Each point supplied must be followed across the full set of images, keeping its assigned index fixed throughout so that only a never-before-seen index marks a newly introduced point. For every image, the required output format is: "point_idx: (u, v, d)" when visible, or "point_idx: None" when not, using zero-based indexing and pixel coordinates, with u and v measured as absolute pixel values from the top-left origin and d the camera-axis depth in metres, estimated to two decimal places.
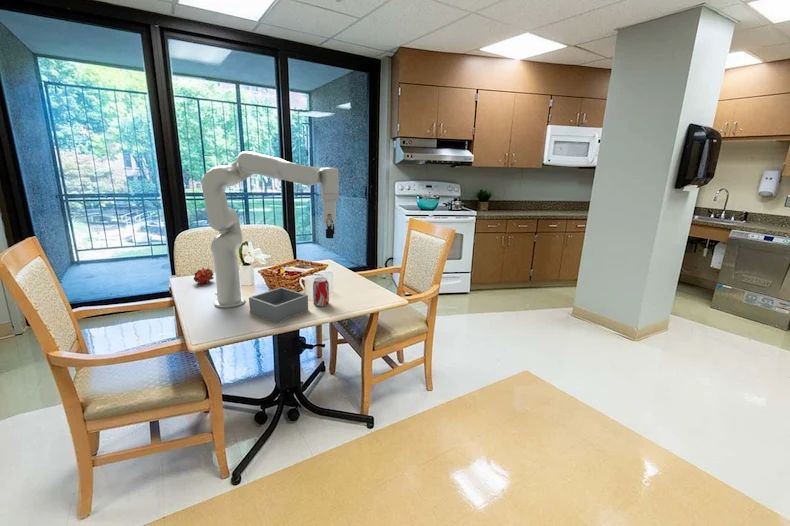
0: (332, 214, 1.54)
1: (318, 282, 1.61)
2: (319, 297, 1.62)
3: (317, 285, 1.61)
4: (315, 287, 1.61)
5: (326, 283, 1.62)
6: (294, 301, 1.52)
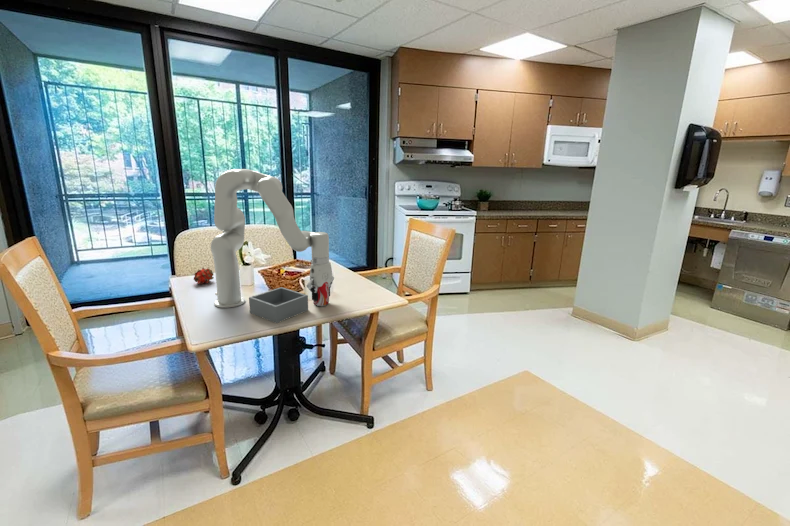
0: None
1: None
2: (319, 297, 1.62)
3: None
4: None
5: (326, 283, 1.62)
6: (294, 301, 1.52)
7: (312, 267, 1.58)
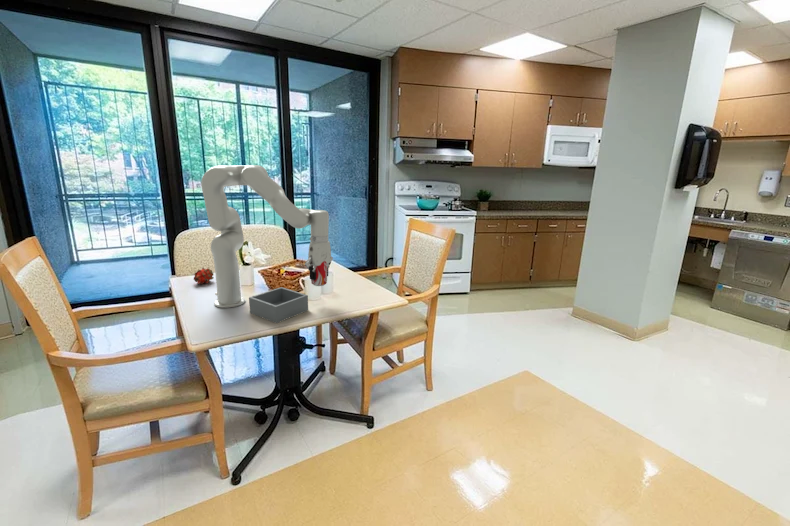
0: None
1: None
2: (317, 276, 1.59)
3: None
4: None
5: (325, 262, 1.60)
6: (294, 301, 1.52)
7: (311, 245, 1.56)
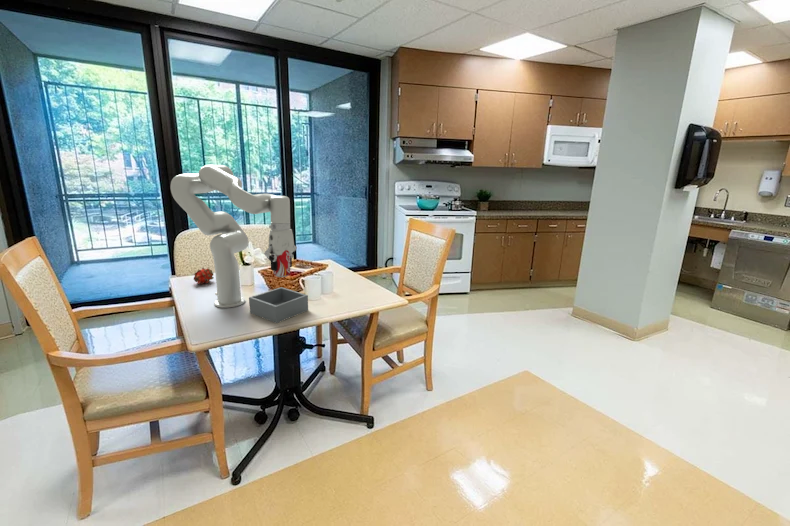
0: None
1: None
2: (279, 267, 1.49)
3: None
4: None
5: (287, 252, 1.50)
6: (294, 301, 1.52)
7: (271, 233, 1.46)
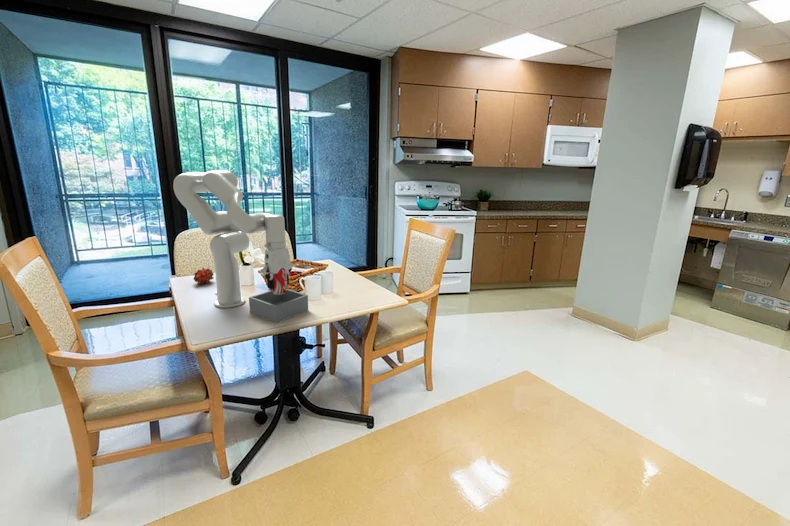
0: None
1: None
2: (275, 285, 1.50)
3: None
4: None
5: (283, 270, 1.50)
6: (294, 301, 1.52)
7: (266, 252, 1.46)
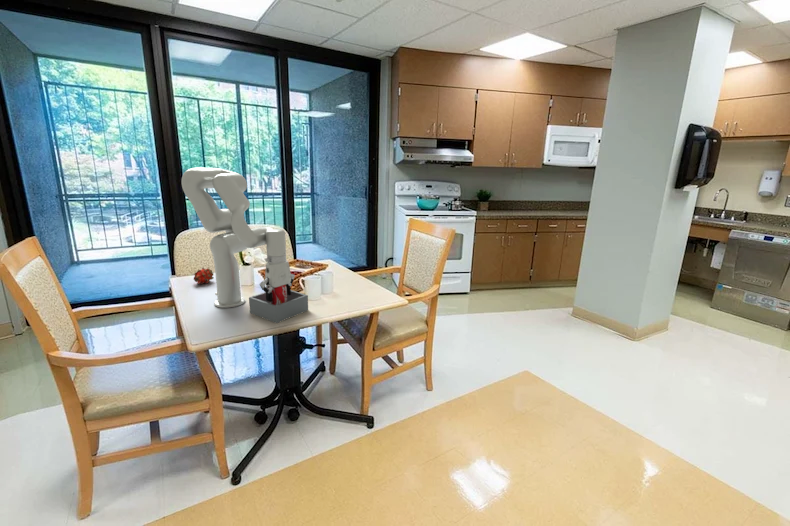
0: None
1: None
2: (275, 302, 1.52)
3: (273, 289, 1.51)
4: (271, 291, 1.51)
5: (283, 287, 1.52)
6: (294, 301, 1.52)
7: (267, 266, 1.48)
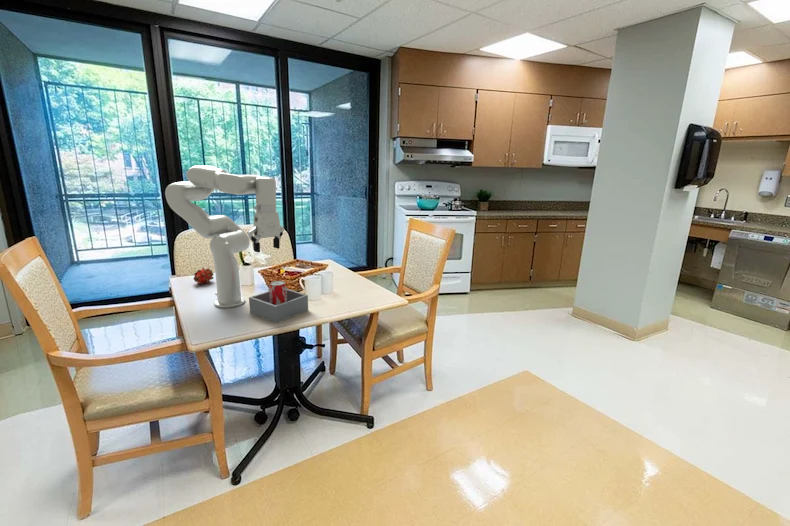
0: None
1: (274, 286, 1.51)
2: (275, 302, 1.52)
3: (273, 289, 1.51)
4: (271, 291, 1.51)
5: (283, 287, 1.52)
6: (294, 301, 1.52)
7: (256, 215, 1.43)
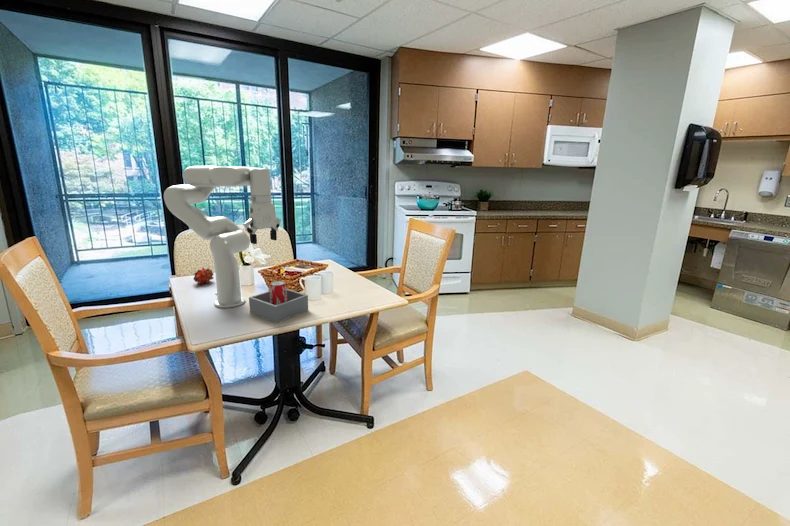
0: None
1: (274, 286, 1.51)
2: (275, 302, 1.52)
3: (273, 289, 1.51)
4: (271, 291, 1.51)
5: (283, 287, 1.52)
6: (294, 301, 1.52)
7: (251, 206, 1.43)
